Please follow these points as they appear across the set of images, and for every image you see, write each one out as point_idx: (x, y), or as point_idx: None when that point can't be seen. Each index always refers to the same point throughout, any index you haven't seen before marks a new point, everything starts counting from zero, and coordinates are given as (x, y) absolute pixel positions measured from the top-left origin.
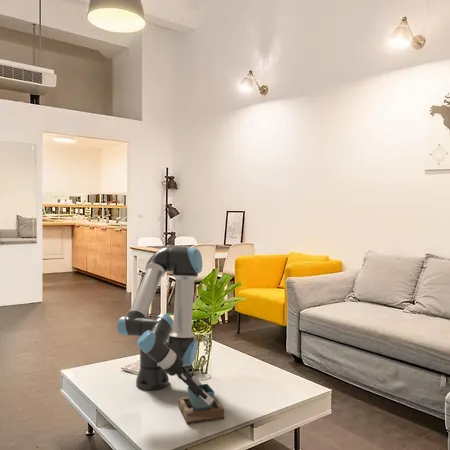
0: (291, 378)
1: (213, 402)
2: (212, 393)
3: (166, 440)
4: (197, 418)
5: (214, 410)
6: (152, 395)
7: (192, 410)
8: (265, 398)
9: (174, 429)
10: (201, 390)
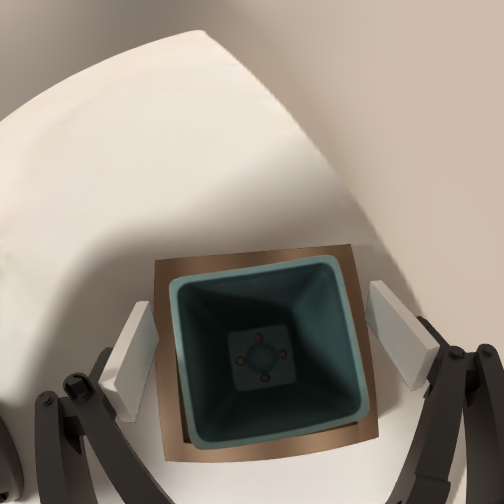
0: (115, 61)
1: None
2: (337, 273)
3: None
4: None
5: (359, 293)
6: None
7: None
8: (194, 105)
9: (384, 471)
10: (497, 353)
